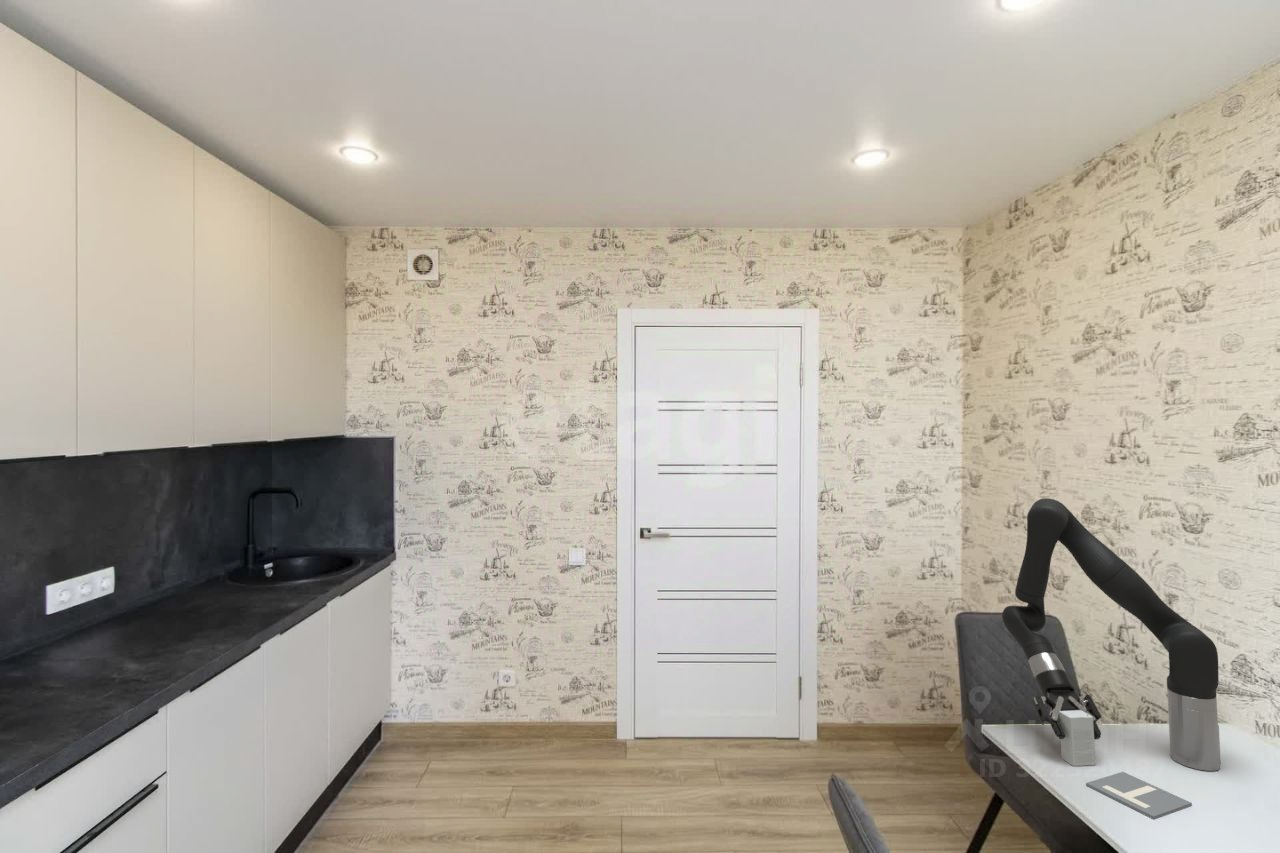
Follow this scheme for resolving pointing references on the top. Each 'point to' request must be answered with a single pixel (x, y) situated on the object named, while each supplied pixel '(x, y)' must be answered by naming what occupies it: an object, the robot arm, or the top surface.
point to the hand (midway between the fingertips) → (1080, 738)
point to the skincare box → (1077, 738)
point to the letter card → (1139, 795)
